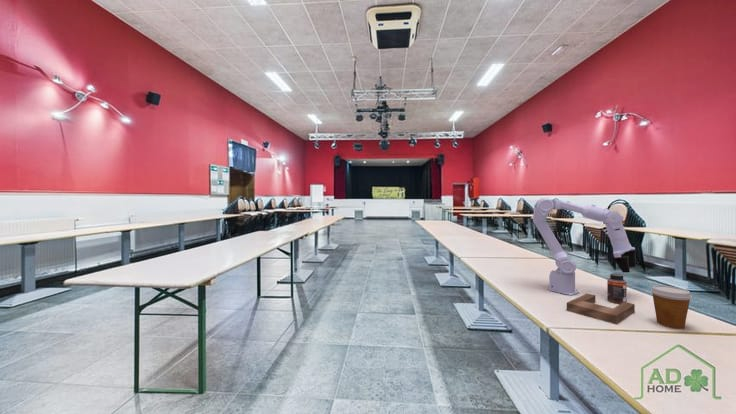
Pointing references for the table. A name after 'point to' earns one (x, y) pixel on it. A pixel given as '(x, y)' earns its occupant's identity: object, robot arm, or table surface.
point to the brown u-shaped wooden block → (600, 309)
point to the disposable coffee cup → (671, 305)
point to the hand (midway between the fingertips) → (629, 269)
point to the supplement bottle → (616, 289)
